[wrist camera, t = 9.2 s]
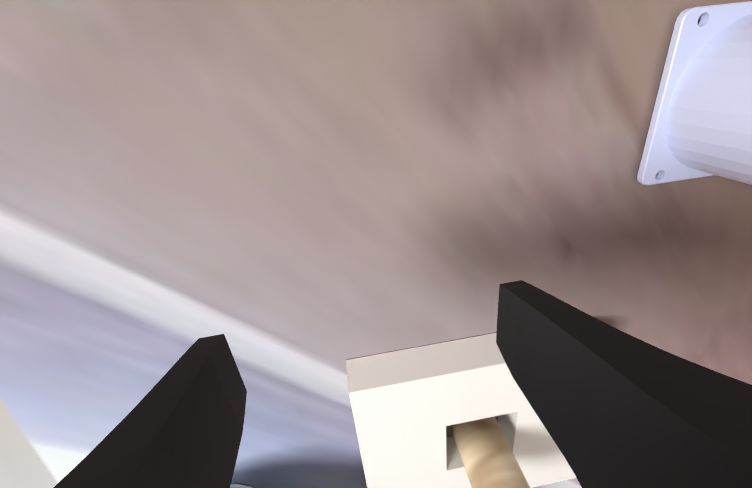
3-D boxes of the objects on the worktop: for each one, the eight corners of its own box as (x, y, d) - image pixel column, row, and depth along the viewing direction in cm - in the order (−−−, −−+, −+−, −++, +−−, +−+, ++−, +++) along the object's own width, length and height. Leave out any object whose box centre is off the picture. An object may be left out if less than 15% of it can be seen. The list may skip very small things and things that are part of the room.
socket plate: (585, 316, 23) (613, 342, 21) (557, 447, 30) (575, 477, 28) (345, 360, 22) (348, 392, 20) (369, 487, 29) (374, 522, 26)
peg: (478, 390, 25) (541, 520, 18) (496, 412, 26) (560, 541, 19) (439, 412, 25) (485, 547, 18) (458, 432, 27) (508, 565, 20)
